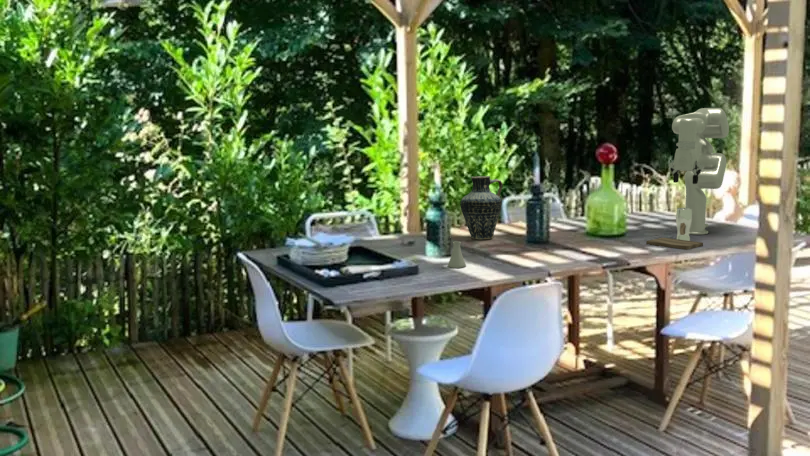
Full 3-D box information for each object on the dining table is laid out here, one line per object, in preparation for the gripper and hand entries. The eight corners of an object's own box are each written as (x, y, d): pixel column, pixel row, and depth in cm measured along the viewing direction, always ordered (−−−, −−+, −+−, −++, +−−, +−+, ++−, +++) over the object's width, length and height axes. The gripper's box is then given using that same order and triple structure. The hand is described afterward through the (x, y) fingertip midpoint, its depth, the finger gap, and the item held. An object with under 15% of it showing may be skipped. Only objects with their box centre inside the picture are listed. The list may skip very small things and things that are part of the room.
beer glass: (691, 241, 379) (693, 209, 376) (676, 241, 380) (677, 209, 378) (689, 239, 385) (691, 207, 383) (674, 239, 387) (675, 207, 385)
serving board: (663, 240, 383) (663, 237, 383) (702, 245, 368) (703, 242, 368) (646, 244, 374) (646, 240, 373) (686, 249, 359) (686, 246, 359)
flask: (453, 264, 331) (453, 239, 330) (469, 266, 327) (469, 241, 326) (444, 267, 325) (444, 242, 324) (459, 269, 321) (460, 244, 320)
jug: (472, 243, 381) (472, 178, 376) (453, 237, 398) (453, 175, 394) (511, 239, 389) (511, 176, 385) (490, 234, 407) (490, 173, 402)
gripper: (665, 145, 380) (664, 182, 383) (700, 146, 367) (698, 184, 370) (674, 144, 385) (672, 181, 387) (708, 146, 372) (707, 183, 375)
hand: (685, 183), depth 379 cm, fingers open, 9 cm apart
